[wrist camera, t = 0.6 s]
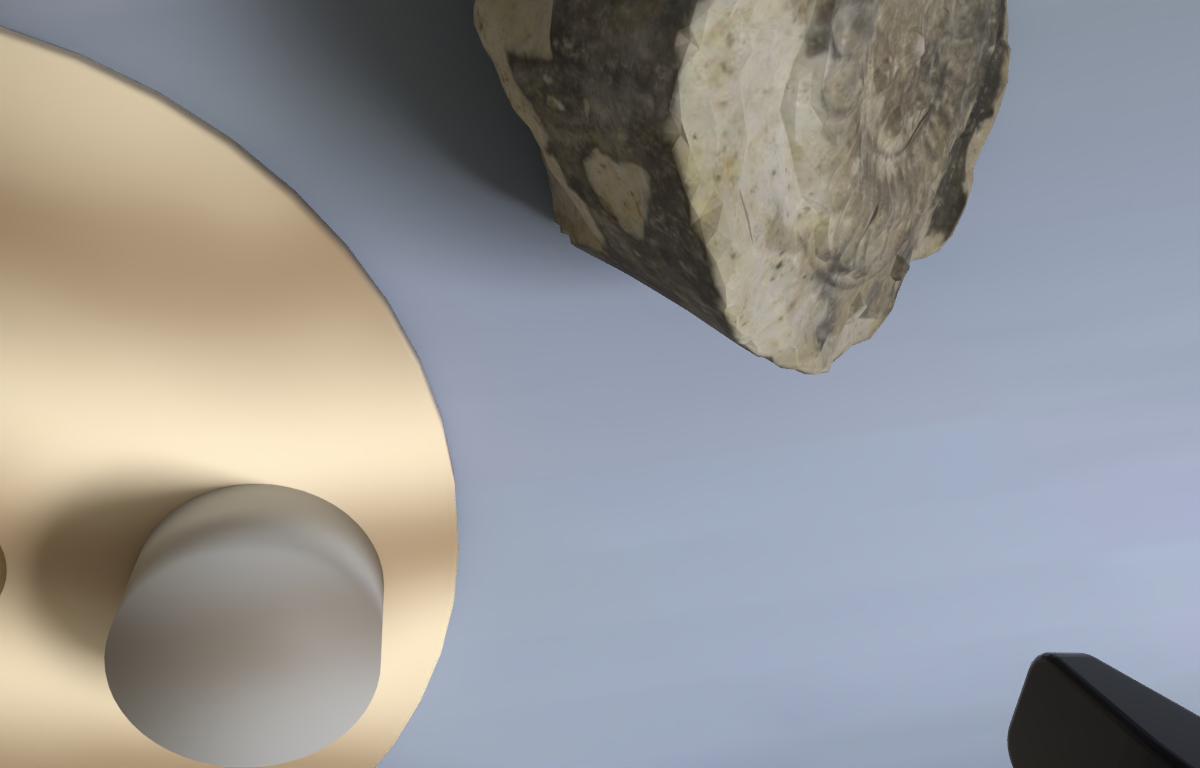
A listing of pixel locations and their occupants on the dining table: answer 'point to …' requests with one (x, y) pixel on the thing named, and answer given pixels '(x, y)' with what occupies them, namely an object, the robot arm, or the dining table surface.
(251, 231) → the carrier plate
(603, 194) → the fossil
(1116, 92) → the dining table surface
